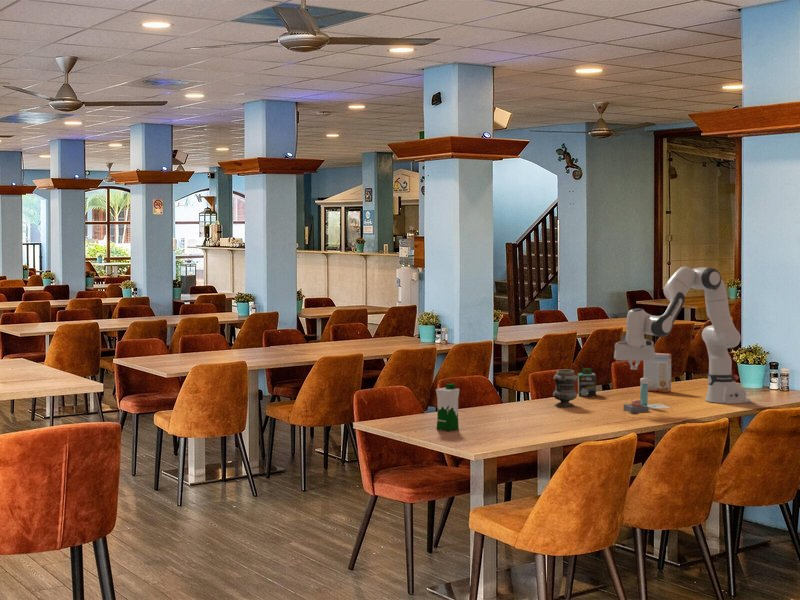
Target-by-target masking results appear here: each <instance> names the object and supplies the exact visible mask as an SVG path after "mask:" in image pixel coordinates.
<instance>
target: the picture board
mask: <svg viewBox="0 0 800 600" xmlns="http://www.w3.org/2000/svg"><path fill="white" fill-rule="evenodd" d="M647 406H648V407H649V410H651V409H653V410H654V409H672V407H670V406H667V405H665V404H662V403H648V404H647Z"/></svg>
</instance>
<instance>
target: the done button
mask: <svg viewBox="0 0 800 600" xmlns="http://www.w3.org/2000/svg"><path fill="white" fill-rule="evenodd" d="M630 404H631V406H633V407H636V406H641V400H640V399H632V400H631V402H630Z"/></svg>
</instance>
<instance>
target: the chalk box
mask: <svg viewBox="0 0 800 600" xmlns="http://www.w3.org/2000/svg"><path fill="white" fill-rule="evenodd" d="M586 371H587V372H586ZM587 393H588V394H587ZM577 396H578V397H592V396H597V375H596V373H594V372H592V367H590V368H589V367H582V372H578V373H577Z"/></svg>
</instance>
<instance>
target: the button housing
mask: <svg viewBox="0 0 800 600" xmlns="http://www.w3.org/2000/svg"><path fill="white" fill-rule="evenodd" d="M624 410H625V411H624ZM649 410H650V409H649V407H648V406H645V405H643V404H641V406H636V407H633V406H631V403H629V404H628V403H625V404H623V411H624V412H626V411H628V412H630V413H629V414H631V413H634V414H637V413H648V412H649ZM628 412H627V413H628Z"/></svg>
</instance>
